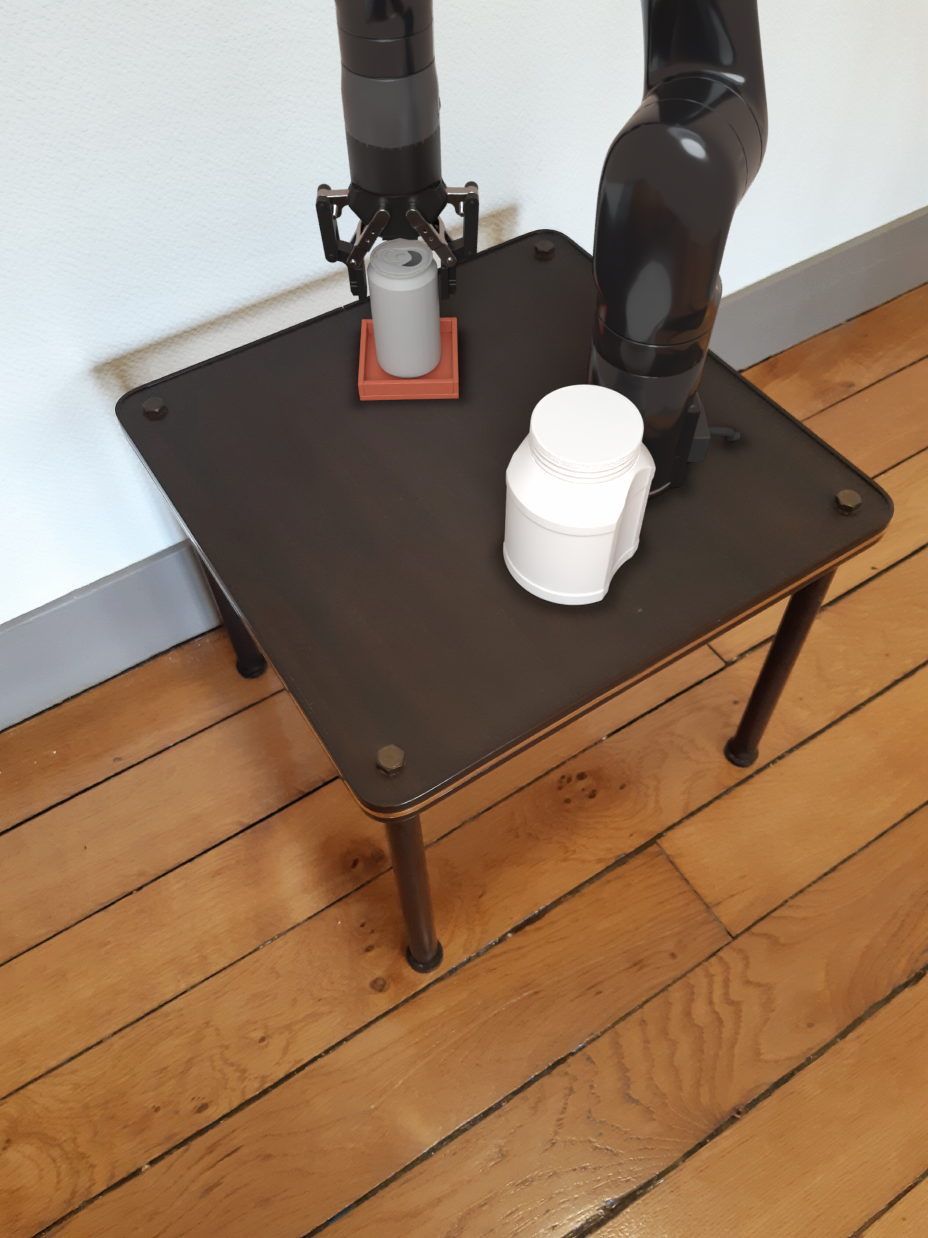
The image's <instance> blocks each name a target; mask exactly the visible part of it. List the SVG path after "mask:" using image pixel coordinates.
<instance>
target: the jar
mask: <svg viewBox="0 0 928 1238" xmlns="http://www.w3.org/2000/svg"><path fill="white" fill-rule="evenodd" d="M643 431H644V425H643V419H642V416H641V414H640V412H639V410H638V409H637V408H636V406H635V405H634V404H633V403H632V402H631V401H630V400H629V399H627V398H626V397H624V396H623V395H621V394H620V393H618V392H616V391H613V390H611V389H608V388H605V387H600V386H595V385H586V384H574V385H568V386H563V387H561V388H557V389H556V390H553V391H551V392H550V393H547V394H546V395H545V396H543V398H541V399H540V400H539V401H538V403H536V405H535V407H534V409H533V411H532V413H531V417H530V423H529V432H528V433H527V435H526V436H525V438H524V439H522V440H523V441H522V442H521V443H520V444H519V446H518V447H517V448H516V450H515V451H514V453H513V454H512V456H511V459H510V461H509V463H508V465H507V468H506V471H505V485H506V496H505V523H504V540H503V543H502V544H503V545H502V548H503V549H502V553H503V559H504V563H505V566H506V568H507V570H508V572H509V573H510V575H511V576H512V578H513V579H514V580H515V581H516V582H517V584H518V585H520V586H521V587H522V588H523V589H525V590H526V591H527V592H529V594H532V595H534V596H535V597H537V598H539V599H542V600H545V601H547V602H550V603H553V604H559V605H565V606H566V605H567V606H581V605H588V604H589V605H590V604H593V603H596V602H597V603H599V602H600V601H602V600H604V597H605V596H606V595H607V593H608V592H609V589H610V588H609V587H610V584H611V581H612V580H613V578H614V575H615V574H616V573H617V571H618V570H619V569H620V567H621V566H623V564H625V562H626V561H628V560H630V559H632V558H633V556H634V555H635V553H636V551H637V550H638V548H639V543H640V534H641V530H642V525H643V520H644V517H645V512H646V508H647V503H648V500H649V499H648V495H649V490H650V486H651V481H652V479H653V477H654V473H655V464H654V461H653V458H652V456H651V454H650V452H649V451H648V449H647V448H646V446H645V445H644V444H643V443H642V437H643Z"/></svg>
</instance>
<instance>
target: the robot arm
mask: <svg viewBox="0 0 928 1238" xmlns="http://www.w3.org/2000/svg"><path fill="white" fill-rule="evenodd" d="M639 1H640V11H641V22H642V39H643V40H642V41H643V44H642V45H643V85H642V87H643V88H642V97H641V102H640V105H639V106H638V108H637V109H636V110H635V111H634V112H633V114H632V115H631V116H630V118H629V119H628V120H627V121H626V122H625V124H624V125H623V126H622V127H621V129H620V130H619V131H618V133H617V134H616V135H615V137H614V138H613V140H612V142H611V143H610V144H609V146H608V149H607V151H606V153H605V156H604V160H603V162H602V166H601V170H600V175H599V182H598V188H597V195H596V196H597V197H596V208H595V218H594V230H593V243H592V245H593V246H592V257H591V258H592V259H591V272H592V280H593V282H594V287H595V289H596V297H595V307H594V315H593V316H594V317H593V322H592V323H593V324H592V332H591V339H590V346H589V354H588V362H587V368H586V369H587V370H586V377H585V378H586V379H585V385H595V386H600V387H605V388H608V389H611V390H613V391H616V392H618V393H620V394H621V395H623V396H624V397H626V398H627V399H629V400H630V401H631V402H632V403H633V404H634V405H635V406H636V408H637V409H638V410H639V412H640V414H641V416H642V419H643V425H644V431H643V437H642V443H643V444H644V445H645V446H646V448H647V449H648V451H649V452H650V454H651V456H652V458H653V461H654V464H655V473H654V477H653V479H652V481H651V486H650V490H649V495H648V499H647V500H650V499H653V498H655V497H658V496H660V495H662V494H663V493H665V492H666V491H668V489H670V488H680V487H681V486H682V483H683V479H684V475H685V472H686V469H687V468H686V467H687V464H688V463H703V462H704V461H705V459H706V455H707V451H708V450H709V449H708V448H709V445H710V442H711V436H724V438H725V440H726V441H727V442H735V441H738V440H740V439H741V433H740V431H739V430H736V431H735V430H734V428H731V427H728V426H720V425H719V426H718V425H717V426H716V425H715V426H714V425H708V420H707V417H706V413H705V408H704V404H703V403H704V402H703V400H702V399H700V395H699V391H698V390H699V386H700V383H701V378H702V374H703V370H704V367H705V363H706V359H707V355H708V351H709V347H710V344H711V338H712V335H713V331H714V327H715V323H716V320H717V315H718V313H719V308H720V305H721V300H722V297H723V280H722V277H721V274H720V271H721V267H722V262H723V258H724V255H725V254H724V253H725V249H726V246H727V241H728V237H729V233H730V229H731V226H732V222H733V220H734V217H735V213H736V210H737V209H738V207H739V206H740V204H741V202H742V201H743V199H744V197H745V196H746V194H747V193H748V191H749V189H750V187H751V186H752V184H753V183H754V181H755V179H756V177H757V175H758V173H759V171H760V169H761V168H762V166H763V161H764V159H765V155H766V153H767V152H766V151H767V146H768V141H769V113H768V112H769V111H768V110H769V109H768V99H767V90H766V89H767V88H766V77H765V69H764V61H763V60H764V59H763V49H762V39H761V27H760V18H759V6H758V0H639ZM333 2H334V7H335V8H334V9H335V20H336V28H337V37H338V46H339V55H340V95H341V105H342V115H343V123H344V130H345V131H344V132H345V141H346V147H347V148H346V150H347V158H348V159H347V160H348V166H349V175H350V183H349V185H348V187H347V188H343V189H341V188H340V189H332V188H331V186H330V185H329V184H326V183H321V184H319V185H318V186H317V189H316V199H315V211H316V217H317V221H318V228H319V233H320V238H321V243H322V248H323V253H324V259H325V260H326V261H327V262H328V263H330V264H335V263H337V262H340V263H343V264H344V265H345V266H346V267H347V275H348V281H349V283H348V284H349V291H350V293H351V295H352V296H353V297H357V298H358V302H360V303H367V302H368V278H367V269H366V263H365V257H366V255H367V254H368V253H369V252H370V251H371V250H372V248H373V246H374V244H375V243H376V241H377V240H378V238H380V239H381V241H382V242H385V241H389V240H395V239H398V238H402V239H406V240H419V238H420V237H421V239H422V240H423V242H424V243H425V244H426V245H427V246H428V247H429V248H430V249H431V250H432V252H433V251H434V253H435V254H436V256H437V257H438V258H439V259H440V285H441V286H440V287H441V289H440V291H441V301H450V295H455V294H456V292H457V289H458V288H457V285H458V284H457V266H458V263H459V262H460V261H463V260H467V261H474V260H475V259H476V258H477V256H478V241H479V240H478V239H479V219H480V217H479V216H480V215H479V214H480V193H479V192H480V191H479V185H478V183H477V182H476V181H473V180H471V181H467V182H466V183H465V184H464V186H463V187H462V186H447V184H446V182H445V181H444V179H443V174H442V144H441V143H442V141H441V140H442V139H441V107H442V103H441V98H440V97H441V96H440V84H439V77H438V72H437V66H436V55H435V54H436V53H435V51H436V50H435V21H434V19H435V18H434V0H333ZM448 204H450V205H452V207H453V208H454V212H455V214H456V215H457V216H459V217H460V218H462V237H459V238H456V239H454V238H453V236H452V235H451V234H450V232H449V231H448V229H447V228H446V225H445V223H444V221H443V219H442V217H441V216H440V215H441V214H442V212H443V211H444V210H445V209H446V207H447V205H448ZM346 206H348V208H349V209H350V210H351V212H353V213H354V214H355V216H356V217H357V218H358V219H359V220H358V223H357V226H356V229H355V231H354V232H353V234H352V236H351V238H350V240H349V241H346V240H342V239H341V237H340V231H339V226H338V225H339V224H338V219H340V218H341V217H342V215H343V209H344V207H346Z"/></svg>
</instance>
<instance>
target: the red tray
mask: <svg viewBox="0 0 928 1238" xmlns="http://www.w3.org/2000/svg"><path fill="white" fill-rule="evenodd" d="M457 319H458V318H457V317H453V316H452V317H440V338H441V359H440V362H439V364H438V365H437V366H436V367H435V368H434V369H433V370H432V371H430V372H429V373H427V374H425V375H423V376H421V377H417V378H401V377H396V376H393V375H391V374H389V373H387V372H385V371H384V370H383V369H382V368H381V367H380V365H379V364H378V361H377V356H376V347H375V338H374V329H373V320H372V318H366V319H365V318H363V319H361V328H360V329H361V330H360V332H361V333H360V344H359V345H360V347H359V361H358V362H359V363H358V378H357V380H358V381H357V387H358V394H359V400H360V401H396V400H397V401H399V400H402V401H403V400H441V399H442V400H443V399H444V400H446V399H447V400H449V399H459V398H460V392H459V391H460V387H459V350H458V349H459V348H458V347H459V346H458V320H457Z"/></svg>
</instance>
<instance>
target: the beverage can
mask: <svg viewBox="0 0 928 1238" xmlns="http://www.w3.org/2000/svg"><path fill="white" fill-rule="evenodd" d="M371 250H372V251H371V253H370V255H369V263H368V264H367V267H366V277H367V286H368V294H369V300H370V310H371V319H372V320H373V329H374V338H375V347H376V356H377V361H378V364H379V365H380V367H381V368H382V369H383V370H384V371H385V372H387V373H389V374H391V375H393V376H396V377H401V378H417V377H421V376H423V375H425V374H427V373H429V372H430V371H432V370H433V369H434V368H435V367H436V366H437V365H438V364H439V362H440V359H441V338H440V318H441V317H440V294H439V292H440V291H439V270H438V269H439V267H438V263H437V261H436V260H435V258H434V254H433V251H432V250H431V249H430V248H429V247H428V245H427V244H426V243H425V242H424V241H422V240H421V241H420V240H419V239H418V240H406V239H402V238H398V239H395V240H389V241H382V242H381V243H379V244H377V245H376V246H375V247H373V249H371Z"/></svg>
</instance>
